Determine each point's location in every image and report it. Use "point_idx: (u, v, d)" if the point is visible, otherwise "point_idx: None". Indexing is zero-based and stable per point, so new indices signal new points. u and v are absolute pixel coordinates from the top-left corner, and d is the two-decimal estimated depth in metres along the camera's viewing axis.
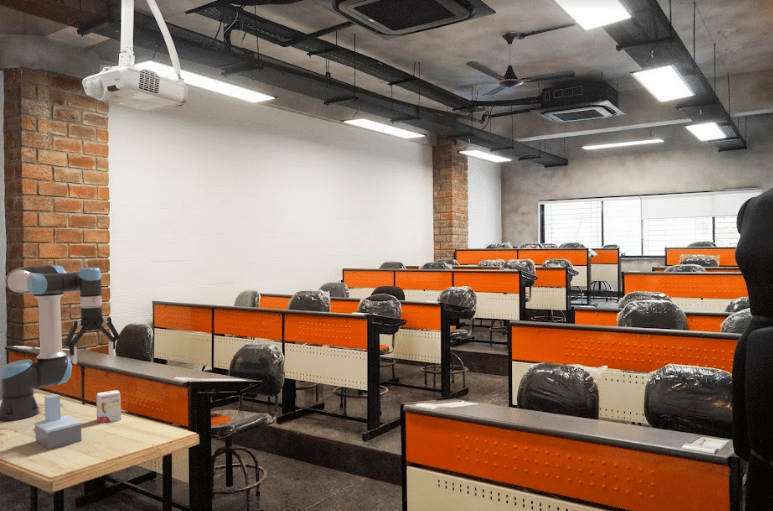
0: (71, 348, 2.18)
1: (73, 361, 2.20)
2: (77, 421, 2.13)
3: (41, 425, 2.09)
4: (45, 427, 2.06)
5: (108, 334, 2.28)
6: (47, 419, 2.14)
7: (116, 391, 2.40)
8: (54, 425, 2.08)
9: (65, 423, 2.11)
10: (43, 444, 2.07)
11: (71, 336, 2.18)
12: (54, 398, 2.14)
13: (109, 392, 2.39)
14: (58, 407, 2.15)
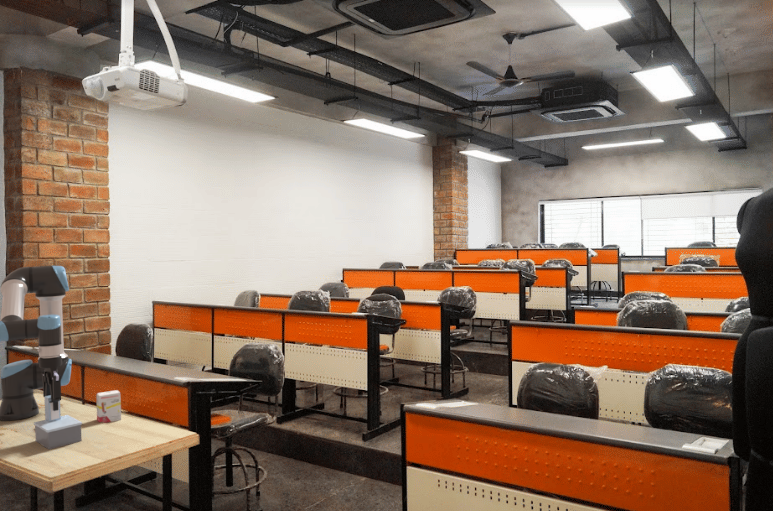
0: None
1: None
2: (77, 421, 2.13)
3: (41, 425, 2.09)
4: (45, 427, 2.06)
5: (50, 392, 2.13)
6: (47, 419, 2.14)
7: (116, 391, 2.40)
8: (54, 425, 2.08)
9: (65, 423, 2.11)
10: (43, 444, 2.07)
11: (43, 386, 2.18)
12: None
13: (109, 392, 2.38)
14: None
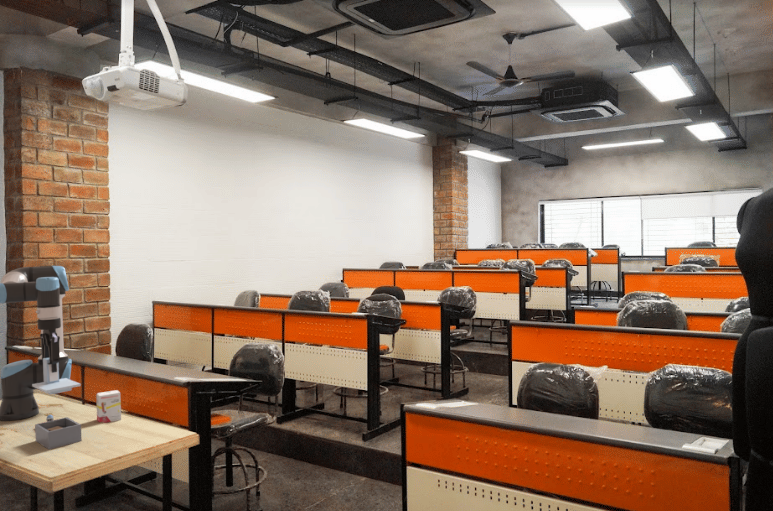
0: None
1: None
2: (76, 383, 2.12)
3: (39, 386, 2.09)
4: (43, 388, 2.06)
5: (49, 353, 2.12)
6: (45, 381, 2.13)
7: (116, 391, 2.40)
8: (52, 386, 2.08)
9: (63, 384, 2.10)
10: (43, 444, 2.07)
11: (41, 349, 2.17)
12: None
13: (109, 392, 2.38)
14: None
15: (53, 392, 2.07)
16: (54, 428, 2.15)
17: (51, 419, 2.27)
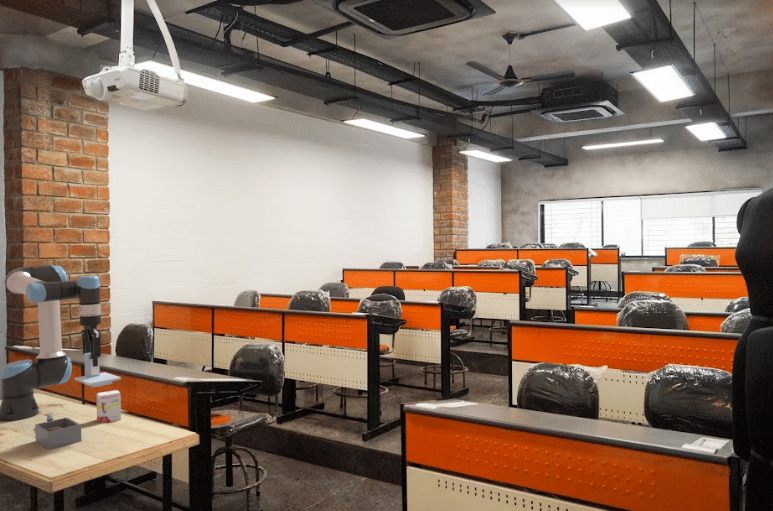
0: None
1: None
2: (116, 376, 2.23)
3: (82, 379, 2.19)
4: (86, 381, 2.16)
5: (90, 348, 2.23)
6: (87, 375, 2.24)
7: (116, 391, 2.40)
8: (95, 379, 2.18)
9: (104, 378, 2.21)
10: (43, 444, 2.07)
11: (82, 344, 2.28)
12: None
13: (109, 392, 2.38)
14: None
15: (95, 385, 2.17)
16: (54, 428, 2.15)
17: (51, 419, 2.27)
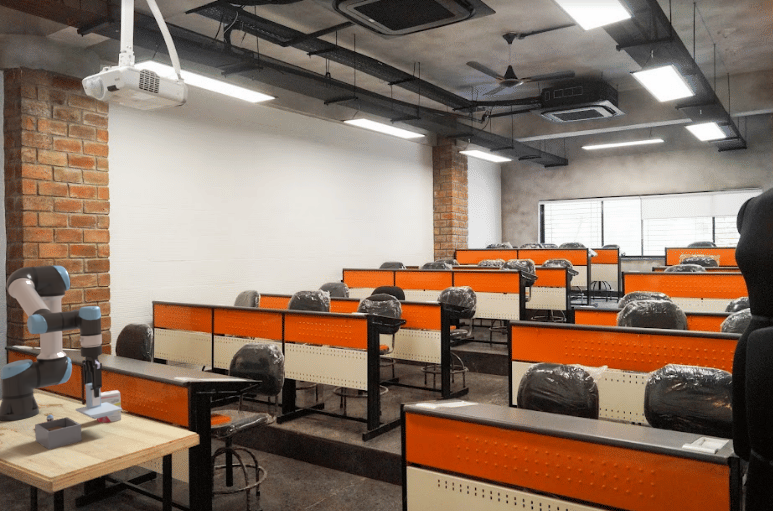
0: None
1: None
2: (117, 407, 2.23)
3: (83, 411, 2.19)
4: (88, 413, 2.17)
5: (92, 379, 2.23)
6: (88, 406, 2.24)
7: (116, 391, 2.40)
8: (96, 411, 2.19)
9: (106, 409, 2.21)
10: (43, 444, 2.07)
11: (84, 375, 2.28)
12: None
13: (109, 392, 2.38)
14: None
15: (97, 417, 2.18)
16: (54, 428, 2.15)
17: (51, 419, 2.27)
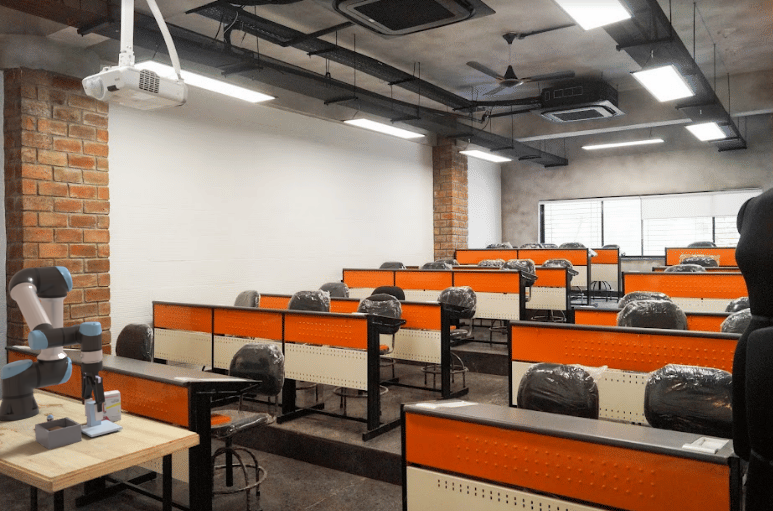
0: None
1: None
2: (118, 426, 2.23)
3: (84, 430, 2.19)
4: (88, 432, 2.17)
5: (94, 394, 2.22)
6: (89, 424, 2.24)
7: (116, 391, 2.40)
8: (96, 430, 2.19)
9: (106, 428, 2.21)
10: (43, 444, 2.07)
11: (82, 387, 2.29)
12: None
13: (109, 392, 2.39)
14: None
15: None
16: (54, 428, 2.15)
17: (51, 419, 2.27)
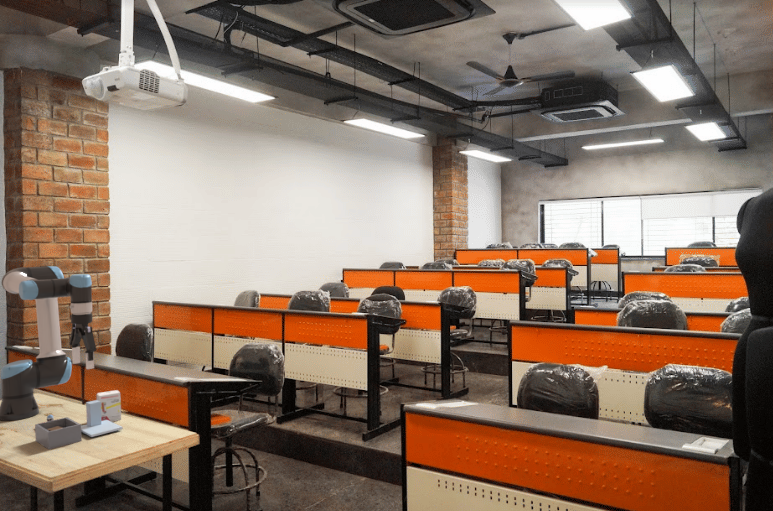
0: None
1: None
2: (118, 426, 2.23)
3: (84, 430, 2.20)
4: (88, 432, 2.17)
5: (84, 344, 2.23)
6: (89, 424, 2.24)
7: (116, 391, 2.40)
8: (96, 430, 2.19)
9: (106, 428, 2.21)
10: (43, 444, 2.07)
11: (71, 337, 2.32)
12: (95, 404, 2.25)
13: (109, 392, 2.39)
14: (99, 412, 2.26)
15: None
16: (54, 428, 2.15)
17: (51, 419, 2.27)
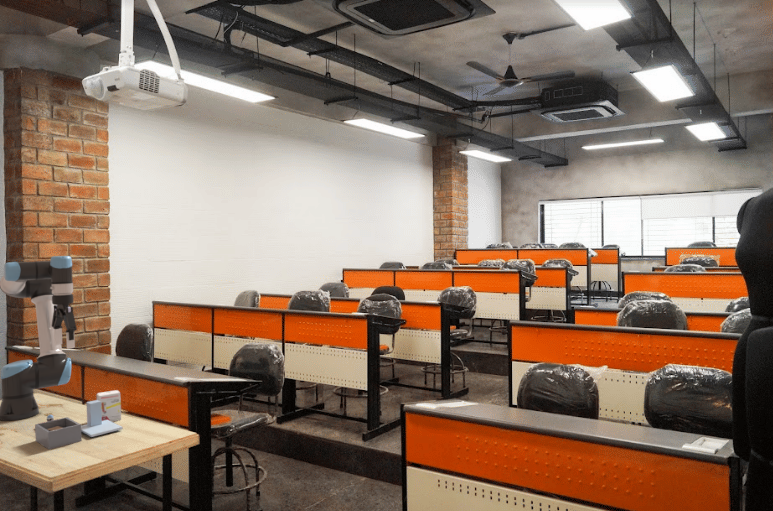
0: None
1: None
2: (118, 426, 2.23)
3: (84, 430, 2.20)
4: (88, 432, 2.17)
5: (65, 324, 2.26)
6: (89, 424, 2.25)
7: (116, 391, 2.40)
8: (96, 430, 2.19)
9: (106, 428, 2.21)
10: (43, 444, 2.07)
11: (53, 318, 2.35)
12: (96, 404, 2.25)
13: (109, 392, 2.39)
14: (99, 412, 2.26)
15: None
16: (54, 428, 2.15)
17: (51, 419, 2.27)
